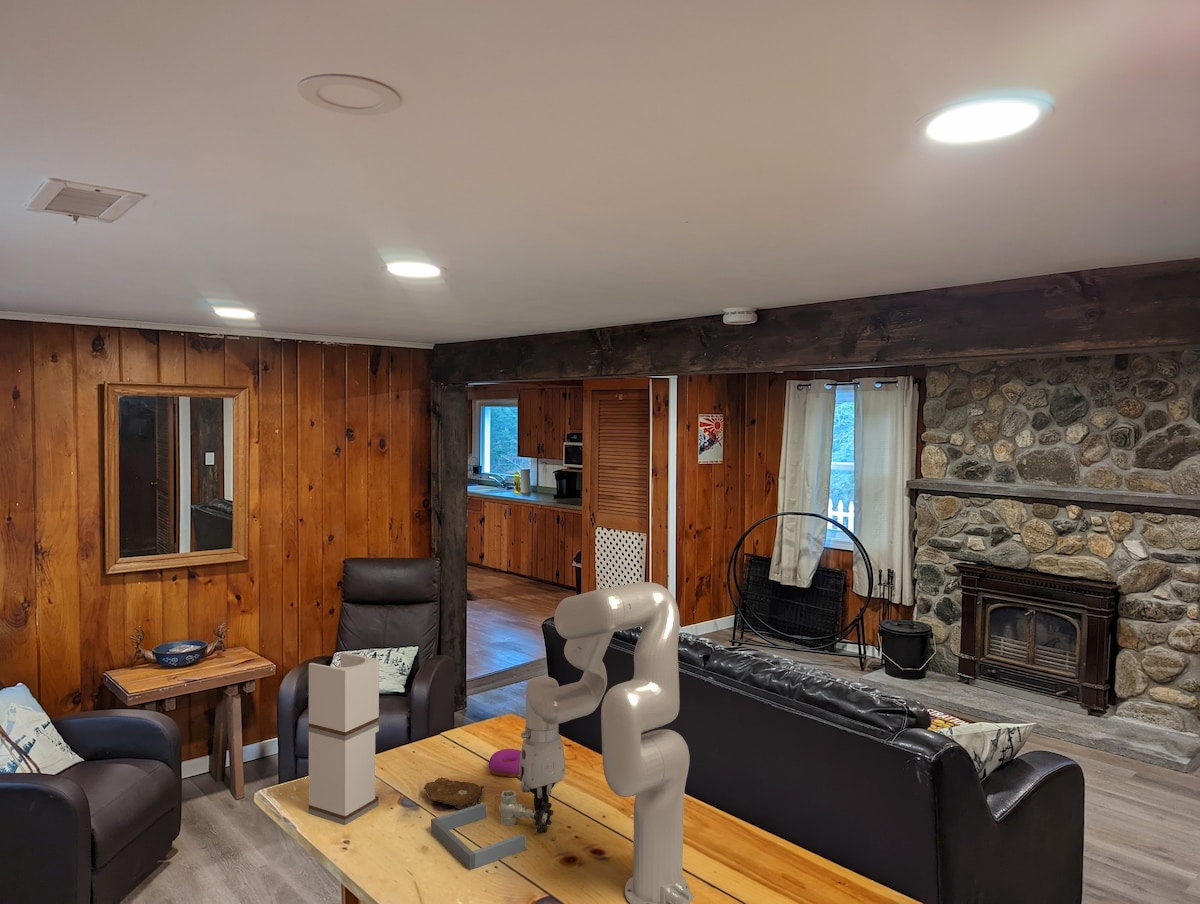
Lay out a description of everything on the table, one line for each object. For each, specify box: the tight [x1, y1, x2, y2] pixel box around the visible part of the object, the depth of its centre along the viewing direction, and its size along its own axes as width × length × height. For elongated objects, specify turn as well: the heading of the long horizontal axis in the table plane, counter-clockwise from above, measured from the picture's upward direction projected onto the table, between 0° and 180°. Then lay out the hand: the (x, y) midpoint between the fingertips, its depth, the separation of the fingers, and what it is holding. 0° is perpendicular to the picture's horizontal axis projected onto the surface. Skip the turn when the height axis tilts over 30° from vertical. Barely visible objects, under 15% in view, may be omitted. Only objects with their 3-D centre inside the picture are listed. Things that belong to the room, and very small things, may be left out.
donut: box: [487, 748, 521, 778], centre depth 206 cm, size 10×10×5 cm
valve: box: [499, 790, 554, 834], centre depth 177 cm, size 7×7×12 cm
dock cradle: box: [430, 802, 527, 871], centre depth 171 cm, size 18×13×3 cm
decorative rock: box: [423, 777, 485, 811], centre depth 190 cm, size 11×4×15 cm
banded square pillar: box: [308, 652, 380, 826], centre depth 184 cm, size 11×11×35 cm
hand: (541, 811), depth 181 cm, fingers closed
